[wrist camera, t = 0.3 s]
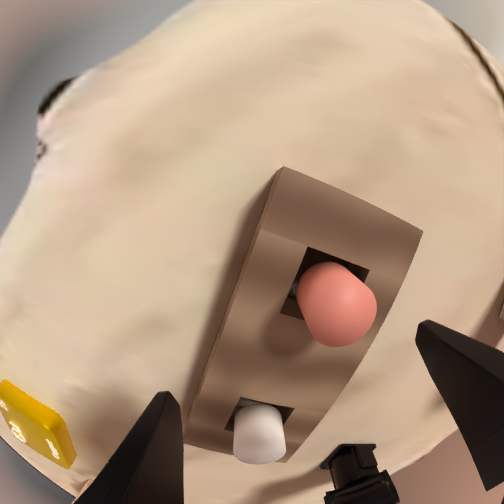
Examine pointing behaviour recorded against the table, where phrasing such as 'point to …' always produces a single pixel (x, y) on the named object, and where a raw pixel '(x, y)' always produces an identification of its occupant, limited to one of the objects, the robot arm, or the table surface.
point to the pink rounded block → (335, 304)
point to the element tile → (36, 425)
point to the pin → (258, 434)
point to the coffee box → (502, 313)
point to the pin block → (295, 311)
